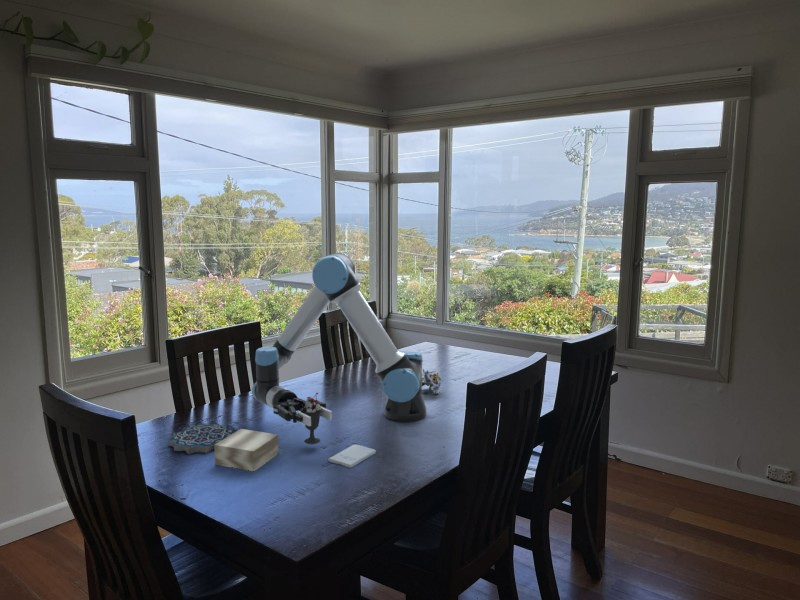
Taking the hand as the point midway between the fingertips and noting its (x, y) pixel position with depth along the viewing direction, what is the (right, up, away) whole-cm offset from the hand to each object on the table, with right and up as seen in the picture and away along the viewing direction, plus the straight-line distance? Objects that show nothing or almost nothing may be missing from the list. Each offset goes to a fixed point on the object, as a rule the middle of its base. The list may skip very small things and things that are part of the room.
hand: (320, 418), depth 173 cm
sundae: (-3, -8, +5) cm, 10 cm away
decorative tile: (-38, -10, +10) cm, 41 cm away
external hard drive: (+10, -12, -1) cm, 15 cm away
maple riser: (-21, -11, -3) cm, 24 cm away
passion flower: (+35, -2, +60) cm, 70 cm away
